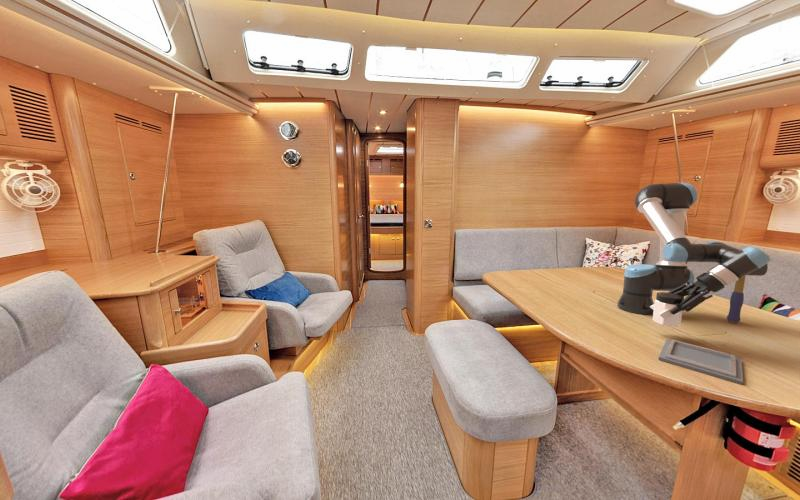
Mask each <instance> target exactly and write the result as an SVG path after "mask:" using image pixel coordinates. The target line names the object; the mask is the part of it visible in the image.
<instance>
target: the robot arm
mask: <svg viewBox="0 0 800 500" xmlns="http://www.w3.org/2000/svg"><path fill="white" fill-rule="evenodd" d="M697 200H698V191H697V188H696V187H695V186H694V185H693V184H690V183H687V182H672V183H652V184H647V185H645V186H643V187H642V188H641V189H639V191H638V192H637V193H636V194H635V197H634V206H635V207H636V209H637V211H638V212H639V213H641V214H643V216H644V217H645V218H646V220H647V221H648V222H649V224H650V226H651V227H652V228H653V230H654V231H655V233H656V234H657V236H658V237H659V261H657V262H656V263H655V265H653V264H643V263H640V264H639V263H638V264H636V263H635V264H630V265H627V267H625V269H624V273H623V274H624V278H623V288H622V293H621V295H620V297H619V299H618V301H617V306H618V307H619V308H618V307H617V308H618V309H621V310H622V309H623V310H622V311H625V312H629V313H633V314H638V315H639V314H641V315H653V312H654V304H655V301H654V300H653V292H654V291H657V292H667V293H674V294H678V295H681V296H683V297H684V299H683V300H682V301H681V302H680V303H679V304H676V305H677V306H676V305H674V306H672V307H670V308H668V309H667V310H665V311H663V312H661V313H660V314H659V315H660V316H661V317H662V318H663V319H667V318H669V317H671V316H673V315H674V314H676V313H678V312H680V311H683V312H684V311H685V312H686V313H687V312H690V311H691V310H693V309H694V308H696V307H698V306H699V305H700V304H702V303H703V302H705V301H706V300H708V299H711V298H713V296H714V295H713V294H711V293H710V292H712V293H718V292H719V291H721V290H723V289H724V288H725V286H727V287H728V286H729V285H731V284H734V283H736V281H737V280H738V279H741V278H742V277H744V276H745V277H746V276H749V275H748V274H750V273H751V272H753V271H755V270H757V269H760V268H761V267H762V266H764V265H765V264H767V265H768V264H769V263H770V262H771V257H770V256H769V254H767V253H766V252H764V251H763V250H761V249H760V248H757V247H755V246H746V247H745V248H742V249H739V248H736V247H733V246H731V245H728V244H726V243H724V242H720V241H716V240H710V241H708V242H707V241H706V242H705V243H692V242H691V241H690V240H689V239H688V237H687V236H686V235H685V225H686V224H685V219H686V213H687V212H689V211H690V207H692V206H693V205H694V204H695V203H696V201H697ZM687 263H717V264H715V265H714V266H713V267H711V268H709V269H707V272H703V273H701V274H700V275H698V276H696V277H695V274H694V273H693V271H692V270H691V269H689V268H688V264H687ZM695 279H696V281H695Z"/></svg>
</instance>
